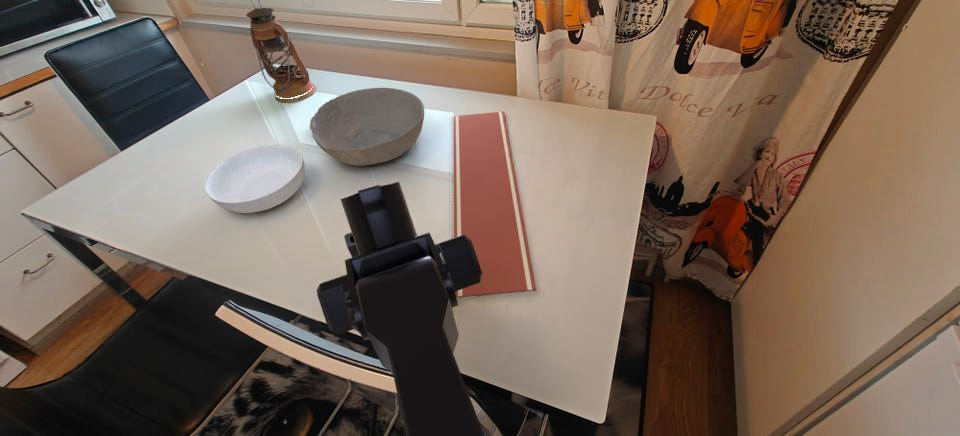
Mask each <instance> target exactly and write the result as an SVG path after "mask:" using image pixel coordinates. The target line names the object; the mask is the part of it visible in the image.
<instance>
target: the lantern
mask: <svg viewBox="0 0 960 436" xmlns="http://www.w3.org/2000/svg"><path fill="white" fill-rule="evenodd" d="M250 2H251V4H252V6H253V8H254V9H253V10H250V11H249V12H247V13H246V15H245V16H246V17H247V18H249V19H250V26H249V27H250V29H249V35H250V37H251V41H252V45H253V47H254V49H255V51H256V55H257V58H258V61H259V66H260V71H261V75H262V76H263V78H264V80H265V81H266V83H267V84H268V85H269V86H270V87H271V88H272V89H273V91H274V93H275V94H274V99H275V101H277V102H279V103H283V104H286V103H287V104H290V103H297V102H301V101H304V100H306V99H308V98H309V97H311V96H313V94H315V92H316V91H317V87H316V86H315V85H314V84H313V83H312V82H311V79H310V74H309V72H308V70H307V68H306V66H305V64H304V63H303V60H302V58H301V56H300V55H299V53H298V50H297V48H296V47H295V45H294V43H293V42H292V39H291V38H290V36H289V33H288V31H287V30H286V29H285V28H284V27H283V26H282V25H280V23H279V22H278V20H277V17H276V16H275V15H273V13H274V8H271V7H262V5H261V2H260V0H258V4H259V7H260V8H256V6H255V5H254V3H253V1H252V0H250ZM286 48H287V50H286ZM276 52H283V54H282V55H280V56H279V57H278V58H277V59H274V58H273V57H272V56H273V54H274V53H276ZM269 53H270V56H269V55H268V54H269ZM291 56H292V58H293V60H294V61H295V63H296V65H295V64H290V63H289V62H290V61H289V58H290V57H291ZM284 57H286V58H285V59H284V61H283V62H281V64H280V65H278V67H276V66H274V65H275V64H276V63H277V62H278V61H280V60H282V59H283V58H284ZM286 62H287V63H286ZM285 63H286V65H284V64H285ZM262 65H263V67H262ZM263 68H264V69H265V72H266V74H267V75H268V76H269V77H270V78H272V80H274V83H273V85H272V84H271V83H270V82H269V81H268V79H267V77H266V76H265V73H264V70H263ZM312 86H313V88H312ZM311 88H312V90H311V91H310V92H308V91H309V90H310V89H311ZM306 92H308V93H307V94H305V95H303V96H300V97H298V98H293V99H280V98H278V97H276V95H277V96H279V97H282V98H291V97H295V96H298V95H302V94H304V93H306Z"/></svg>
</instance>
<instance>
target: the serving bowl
mask: <svg viewBox="0 0 960 436" xmlns="http://www.w3.org/2000/svg"><path fill="white" fill-rule="evenodd" d="M305 173H306V166H305V162H304V158H303V155H302V153H301V151H299V150H298V149H297V148H295V147H293V146H291V145H286V144H281V143H280V144H278V143H270V144H263V145H258V146H253V147H250V148H247V149H244V150H241V151H239V152H237V153H235V154H233V155H231V156H229V157H227V158H226V159H224V160H223V161H221V162H220V163H219V164H218V165H216V166H215V167H214V168H213V169H212V170H211V171H210V173H209V174H208V175H207V177H206V179H205V182H204V192H205V194H206V195H207V197H208V198H209V199H210V200H211V201H212V202H213V203H214V204H216V205H217V206H219V207H221V208H222V209H225V210H227V211H229V212H234V213H240V214H241V213H242V214H250V213H251V214H252V213H258V212H263V211H267V210H270V209H272V208H274V207H275V208H276V206H279V205H281V204H282V203H284V202H286V201H287V200H289V198H291V197H292V196H293V195H294V194H295V193H296V192H297V191H298V190H299V188H300V186H301V185H302V183H303V181H304V178H305Z"/></svg>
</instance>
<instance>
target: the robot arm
mask: <svg viewBox="0 0 960 436" xmlns="http://www.w3.org/2000/svg"><path fill="white" fill-rule="evenodd" d="M340 202H341V205H342V208H343V211H344V214H345V217H346V220H347V223H348V226H349V229H350V232H348V233H345V235H344V236H343V237H344V242H345V245H346V247H347V250H348V252H349V255H350V258H347V259H344V265H345V271H346V273H345V274H344V275H340V276H338V277H335V278H332V279H328V280H326V281H323V282H321V283H319V285H318V286H317V288H316V295H317V299H318V301H319V305H320V308H321V311H322V313H323V317H324V320H325V323H326V325H327V328H328V330H329V332H330V333H331V334H333V335H335V336H340V335H342V334H345V333H347V332H350V331H353V330H354V331H356V332H358V333H359V334H360V336H361V338H362V339H363V341H368V340H369V342H370V343H371V346H372V347H373V350H374V351H375V353H376V356H377V358H378V360H379V362H380V365H381V366H382V367H383V368H384V369H386V370H387V371H389V372H390V373H391V374H392V377H393V380H394V386H395V389H396V394H397V399H398V404H399V409H400V412H401V413H400V414H401V416H402V422H403V426H404V431H405V435H406V436H489V434H488V433H487V432H486V431H485V429H483V428H482V426H481V422H480V420H479V418H478V415H477V413H476V409H475V407H474V405H473V402H472V400H471V397H470V394H469V392H468V388H467V385H466V384H465V381H464V379H463V376H462V372H461V371H460V368H459V365H458V362H457V360H456V358H455V355H454V354H455V349H456V346H457V343H458V340H459V336H460V334H459V330H458V326H457V322H456V318H455V315H454V311H453V308H455V307H457V306H459V303H458V302H459V301H458V297H456V294H455V292H456V291H458V290H461V289H464V288H466V287H469V286H472V285H474V284H477V283H480V282H481V279H482V277H483V276H482V270H481V268H480V265H479V262H478V259H477V256H476V253H475V250H474V247H473V244H472V241H471V239H470V238H469V237H468V236H466V235H461V236H458V237H455V238H454V237H452V238H449V239H446V240H444V241H440V242H438V243H435V241H434V239H433V237H432V234H431V233H430V231H428V232H425V233H421V234H419V235H418V233H417V231H416V228H415V224H414V222H413V219H412V215H411V212H410V210H409V207H408V204H407V201H406V198H405V195H404V192H403V189H402V186H401V182H400V181H396V182H392V183H388V184H383V185H380V184H375V185H373V186H370V187H366V188H363V189H359V190H358V191H357V192H356V193H354V194H351V195H348V196H346V197H343V198H342V197H341V198H340Z"/></svg>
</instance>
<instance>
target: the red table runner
mask: <svg viewBox="0 0 960 436" xmlns="http://www.w3.org/2000/svg"><path fill="white" fill-rule="evenodd" d="M522 210H523V209H522V206H521V199H520V194H519V189H518V183H517V177H516V173H515V167H514V161H513V156H512V149H511V144H510V137H509V134H508V127H507V123H506V116H505V111H493V112H483V113H473V114H464V115H453V238H455V237H458V236H461V235H466V236H468V237H469V238H470V239H471V241H472V244H473V247H474V250H475V253H476V256H477V259H478V262H479V265H480V268H481V270H482V276H483V277H482V279H481V282H480V283H477V284H474V285H472V286H469V287H466V288H464V289H461V290H458V291H456V292H455V294H456V298H464V297H473V296H486V295H495V294H509V293H516V292H517V293H520V292H531V291H536V290H537V288H536V283H535V277H534V272H533V271H534V270H533V267H532V266H533V264H532V261H531V254H530V249H529V244H528V239H527V233H526V227H525V222H524V215H523V211H522Z"/></svg>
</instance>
